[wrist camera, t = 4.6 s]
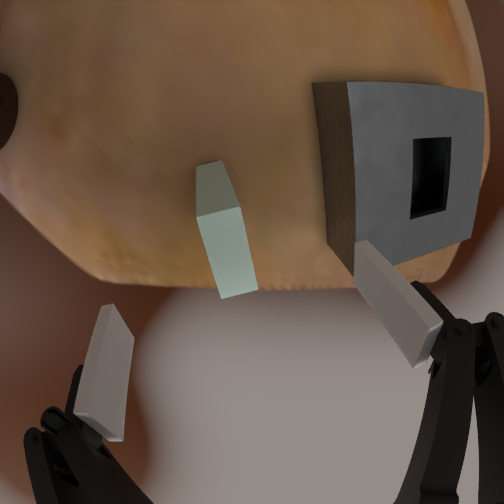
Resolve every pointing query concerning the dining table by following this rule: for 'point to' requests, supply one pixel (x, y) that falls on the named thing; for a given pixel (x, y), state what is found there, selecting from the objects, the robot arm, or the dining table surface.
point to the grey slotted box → (399, 165)
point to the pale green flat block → (223, 231)
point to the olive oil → (7, 108)
